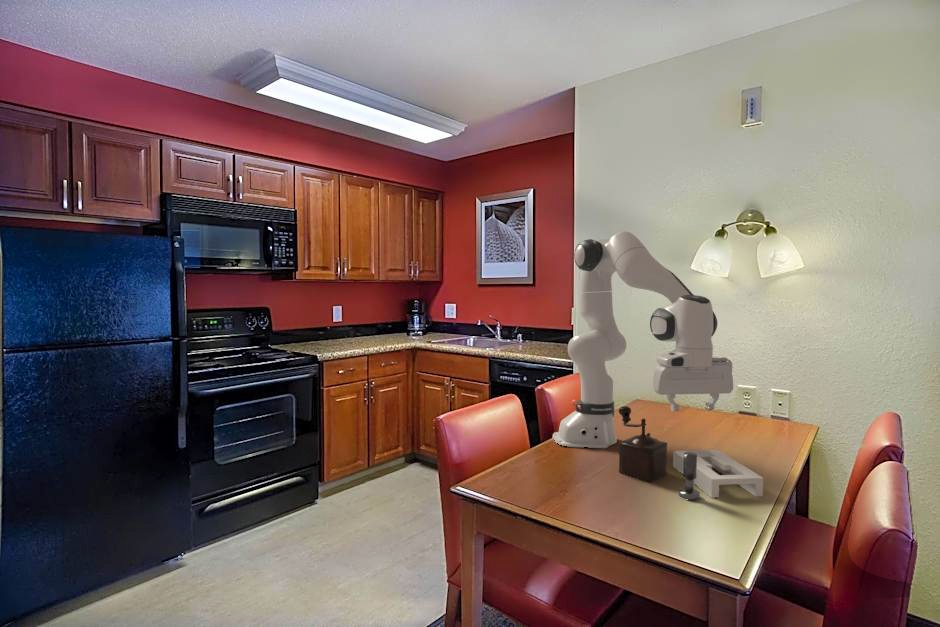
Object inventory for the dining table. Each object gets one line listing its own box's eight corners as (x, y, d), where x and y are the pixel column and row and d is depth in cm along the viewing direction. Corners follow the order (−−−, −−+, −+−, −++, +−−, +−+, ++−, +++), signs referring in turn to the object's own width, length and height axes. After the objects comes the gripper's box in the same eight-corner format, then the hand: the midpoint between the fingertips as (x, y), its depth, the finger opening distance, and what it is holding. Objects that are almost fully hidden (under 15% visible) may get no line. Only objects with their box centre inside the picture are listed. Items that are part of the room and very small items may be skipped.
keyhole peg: (684, 501, 131) (685, 457, 131) (675, 493, 136) (676, 451, 136) (703, 500, 132) (704, 457, 131) (693, 492, 137) (694, 450, 136)
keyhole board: (711, 497, 133) (711, 479, 133) (673, 466, 155) (673, 450, 155) (762, 496, 134) (763, 477, 134) (717, 465, 156) (717, 449, 156)
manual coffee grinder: (669, 472, 151) (670, 413, 149) (650, 483, 143) (652, 420, 142) (622, 459, 162) (623, 403, 161) (602, 468, 154) (603, 410, 153)
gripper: (725, 355, 135) (723, 406, 136) (650, 356, 134) (649, 408, 135) (739, 359, 129) (737, 412, 130) (661, 360, 128) (660, 414, 129)
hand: (692, 410), depth 132 cm, fingers open, 8 cm apart
